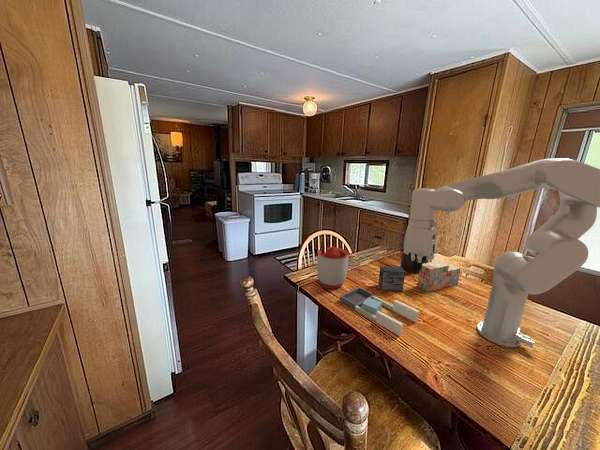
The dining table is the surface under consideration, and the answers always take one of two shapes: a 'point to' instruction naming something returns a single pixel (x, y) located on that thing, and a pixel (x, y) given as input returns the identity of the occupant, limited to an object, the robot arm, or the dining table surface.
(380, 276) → the small box
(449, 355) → the dining table surface
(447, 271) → the stack of blocks
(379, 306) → the block
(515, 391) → the dining table surface
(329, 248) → the citrus juicer
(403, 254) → the black upright piece
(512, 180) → the robot arm
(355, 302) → the two-pronged grey tray
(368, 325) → the dining table surface
